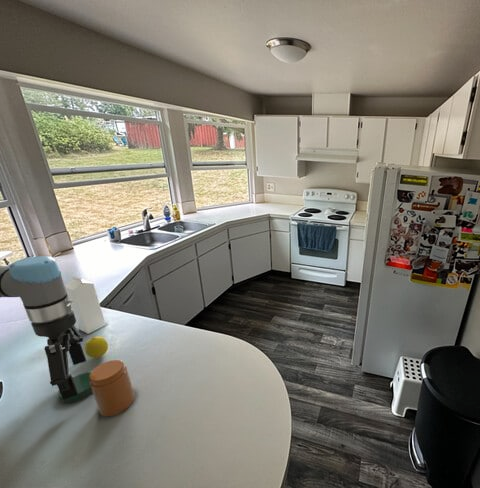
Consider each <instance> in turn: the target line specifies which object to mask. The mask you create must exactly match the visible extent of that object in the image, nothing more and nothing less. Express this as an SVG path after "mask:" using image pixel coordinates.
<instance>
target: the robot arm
mask: <svg viewBox="0 0 480 488" xmlns="http://www.w3.org/2000/svg"><path fill="white" fill-rule="evenodd" d="M65 286H66V285H65V283H64V279H63V276H62V271H61V270H60V268H59V266H58V264H57V261H56V260H55V259H54V258H53V257H51V256H48V255H46V256H45V255H41V256H40V255H39V256H31V257H30V256H29V257H25V258H21V259H18V260H15V261H13V262H11V263H10V264H9V265H0V298H20V300H21V302H22V305H23V308H24V310H25V313H26V316H27V318H28V320H29V322H30V324H31V327H32V329H33V332H34V334H35V336H37V337H45V338H47V340H46V344H47V345H45V346H44V352H45V355H46V359H47V360H46V361H47V366H48V372H49V378H50V381H49V384H50V385H51V386H52V387H54V386H57V388H58V391H60V393H61V396H62V398H63V400H65V399H67V398H70V397H73V396H76V395H78V392H77V389H76V386H75V384H74V381H73V375H72V374H70V369H69V368H70V367H69V357H68V355H69V356H70V359H71V362H72V365H73V366H76V365H80V364H82V363H86V362H87V359H86V356H85V353H84V350H83V347H82V344H81V343H82V342H84V337H81V335H82V334H81V333H80V331H79V330H78V328H77V327H76V326H75V325H76V324H77V321H76V318H75V315H74V312H73V310H72V307H71V304H70V303H72V302H73V300H69V298H68V295H67V292H66V289H65Z"/></svg>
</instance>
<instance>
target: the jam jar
mask: <svg viewBox="0 0 480 488" xmlns="http://www.w3.org/2000/svg"><path fill="white" fill-rule="evenodd" d="M90 372H91V374H90V378H89V379H90V387H91V390H92V395H93V397H94V400H95V403H96V405H97V409H98V412H99V413H100V415H101V416H102V417H113V416H115V415H118V414H120V413H122V412H123V411H125V410H126V409H128V408H129V407H130V406H131V405H132V403H133V402H134V400H135V397H136V396H135V395H136V394H135V392H134V391H135V390H134V388H133V385H132V381H131V378H130V374H129V371H128V367H127V366H126V365H125V363H124V361H122V360H121V359H111V360H108V361H105V362H103V363H101V364H99V365H97V366H96V367H95V368H94V369H93V370H92V371H90Z"/></svg>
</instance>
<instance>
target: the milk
mask: <svg viewBox="0 0 480 488" xmlns="http://www.w3.org/2000/svg"><path fill="white" fill-rule="evenodd" d="M64 286H65V289H66V292H67V295H68V300H73V302H72V303H70V304H71V307H72V309H71V310H73V312H74V315H75V318H76V324H77V326H78V329H79V330H80V331H82V332H84V333H85V334H87V335H88V334H91V333H93V332H95V331H97V330H99V329H101V328H103V327H105V326H107V325H106V321H105V318H104V317H105V316H104V314H103V311H102V308H101V304H100V301H99V297H98V294H97V291H96V287H95V284H94V283H93V282H91V281H88V280H86V279H82V278H80V277H78V276H75V275H72V280H70V281H69V282H68V283H67V284H66V285H64Z"/></svg>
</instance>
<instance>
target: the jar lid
mask: <svg viewBox="0 0 480 488" xmlns="http://www.w3.org/2000/svg"><path fill="white" fill-rule="evenodd" d="M91 372H92V371H88V372H83V373H80V374H77V375H75V376H72V378H73V381H74V384H75V386H76V389H77V392H78V395H76V396H73V397H70V398H67V399H65V400H63V398H62V396H61V393H60V391H59V390H58V392H57V394H58V398H59V400H60V402H62V403H65V404H66V403H67V404H69V403H74V402H75V403H76V402H78V401H80V400H83V399H85V398H86V397H88V396H90V395H91V394H93V392H92V390H91V387H90V379H89V378H90V374H91Z"/></svg>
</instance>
